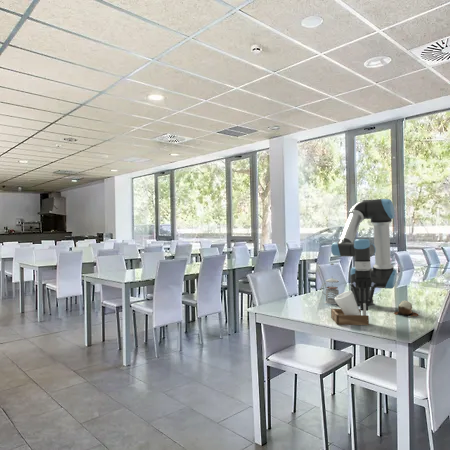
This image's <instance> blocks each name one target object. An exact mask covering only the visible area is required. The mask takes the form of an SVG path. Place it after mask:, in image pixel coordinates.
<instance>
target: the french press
mask: <svg viewBox="0 0 450 450" xmlns="http://www.w3.org/2000/svg"><path fill="white" fill-rule="evenodd" d="M330 266H334V263H333V262H331V263H330ZM339 281H340V280H338V279H336V278H333V277H331V278H328V279H326V280H325V282H324V283H322V285H321V287H320V289H321V292H322V294H323V295H325V301H324V304H328V305H338V304H337V303H336V301H335V297H336V296H338V295H339V288H338V286H329V285H328V286H326V289H325V293H324V292H323V286H324V285H327V283H339Z"/></svg>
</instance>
